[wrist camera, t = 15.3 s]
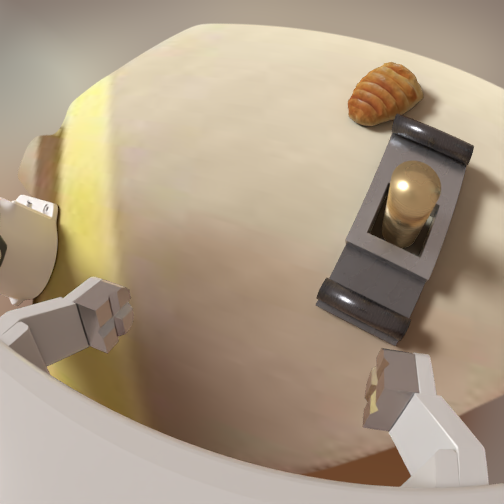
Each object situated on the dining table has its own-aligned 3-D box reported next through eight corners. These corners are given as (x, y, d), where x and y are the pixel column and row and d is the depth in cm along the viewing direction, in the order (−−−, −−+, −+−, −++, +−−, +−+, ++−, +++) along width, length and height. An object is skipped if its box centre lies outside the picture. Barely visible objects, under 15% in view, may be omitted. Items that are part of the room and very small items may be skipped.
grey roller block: (393, 345, 26) (401, 347, 21) (317, 306, 29) (310, 301, 24) (463, 163, 27) (475, 137, 23) (396, 134, 30) (399, 105, 26)
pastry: (377, 143, 31) (377, 122, 28) (333, 110, 34) (329, 88, 30) (426, 100, 30) (429, 78, 27) (383, 71, 33) (383, 49, 30)
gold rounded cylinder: (376, 238, 29) (383, 195, 20) (389, 206, 29) (400, 153, 20) (409, 254, 27) (432, 217, 18) (422, 221, 28) (446, 173, 18)
